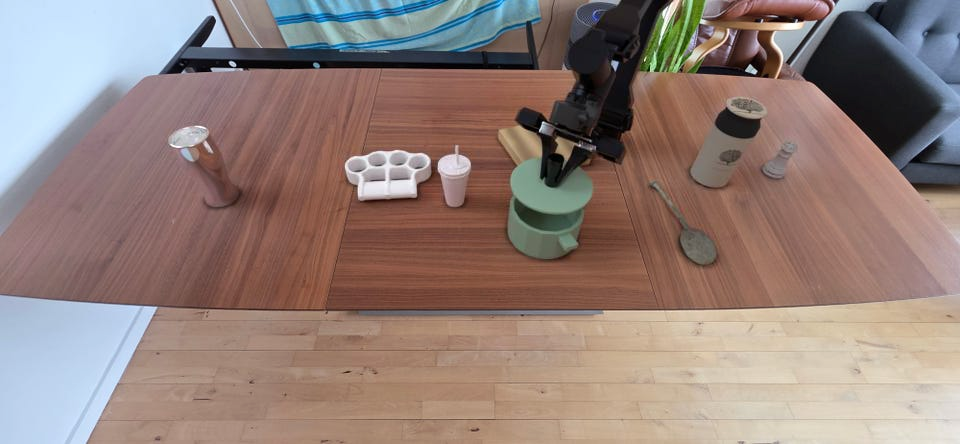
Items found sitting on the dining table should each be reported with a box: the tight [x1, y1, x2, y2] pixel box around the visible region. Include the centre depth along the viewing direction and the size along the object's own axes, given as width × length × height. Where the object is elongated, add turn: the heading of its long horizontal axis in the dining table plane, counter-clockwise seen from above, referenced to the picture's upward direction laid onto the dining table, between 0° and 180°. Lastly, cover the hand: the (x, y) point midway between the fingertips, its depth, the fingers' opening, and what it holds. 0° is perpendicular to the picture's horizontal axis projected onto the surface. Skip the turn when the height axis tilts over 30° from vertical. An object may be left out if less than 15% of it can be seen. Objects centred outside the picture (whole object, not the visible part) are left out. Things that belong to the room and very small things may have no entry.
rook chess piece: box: [762, 140, 799, 180], centre depth 95 cm, size 4×4×8 cm
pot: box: [507, 194, 586, 260], centre depth 81 cm, size 13×19×7 cm
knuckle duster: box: [344, 149, 432, 202], centre depth 91 cm, size 3×18×15 cm
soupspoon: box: [649, 179, 718, 266], centre depth 85 cm, size 22×3×7 cm
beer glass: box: [167, 125, 240, 208], centre depth 82 cm, size 7×7×15 cm
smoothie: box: [437, 144, 472, 208], centre depth 83 cm, size 6×6×14 cm
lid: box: [509, 153, 594, 214], centre depth 73 cm, size 14×14×7 cm
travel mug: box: [689, 96, 768, 188], centre depth 90 cm, size 8×8×18 cm
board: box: [497, 118, 592, 167], centre depth 100 cm, size 16×16×2 cm
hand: (548, 182), depth 73 cm, fingers closed on lid, 2 cm apart
